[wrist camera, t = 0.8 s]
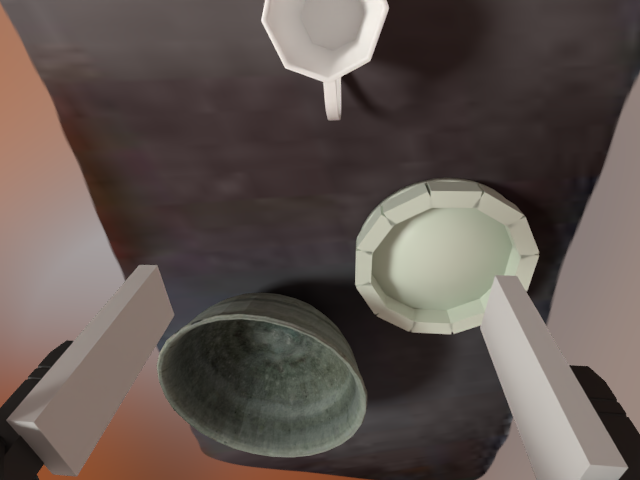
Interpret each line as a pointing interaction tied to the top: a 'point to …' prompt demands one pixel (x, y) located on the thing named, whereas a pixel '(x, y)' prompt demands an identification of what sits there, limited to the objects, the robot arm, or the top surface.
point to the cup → (325, 39)
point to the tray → (441, 254)
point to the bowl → (264, 377)
